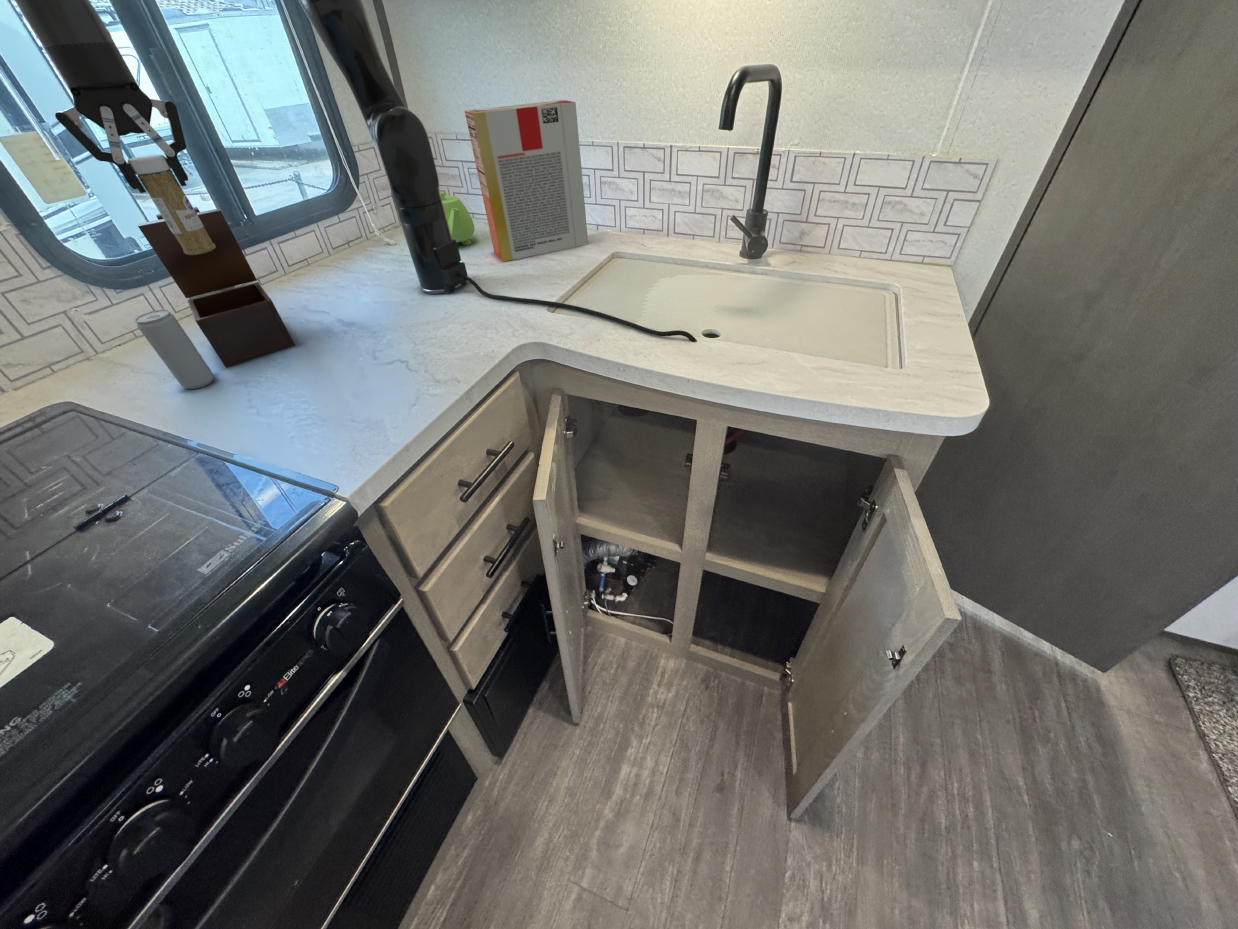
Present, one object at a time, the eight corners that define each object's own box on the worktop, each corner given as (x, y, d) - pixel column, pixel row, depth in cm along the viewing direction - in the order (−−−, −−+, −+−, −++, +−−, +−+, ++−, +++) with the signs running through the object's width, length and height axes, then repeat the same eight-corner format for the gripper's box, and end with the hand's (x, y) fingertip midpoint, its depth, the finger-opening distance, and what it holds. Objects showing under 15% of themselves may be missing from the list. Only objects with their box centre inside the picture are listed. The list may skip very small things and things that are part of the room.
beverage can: (193, 376, 86) (146, 310, 78) (221, 374, 86) (177, 307, 78) (177, 391, 82) (125, 323, 74) (206, 389, 82) (158, 321, 74)
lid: (221, 210, 83) (211, 195, 86) (137, 226, 78) (129, 209, 80) (257, 280, 94) (247, 265, 96) (186, 298, 89) (177, 282, 91)
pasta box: (576, 236, 134) (562, 99, 115) (588, 244, 129) (575, 101, 109) (494, 252, 127) (464, 110, 108) (502, 261, 122) (472, 113, 102)
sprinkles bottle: (217, 251, 81) (162, 155, 72) (184, 258, 79) (124, 160, 70) (216, 244, 84) (164, 152, 75) (185, 251, 82) (127, 156, 73)
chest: (295, 345, 93) (271, 299, 87) (225, 367, 88) (195, 320, 82) (280, 324, 100) (257, 281, 95) (215, 344, 95) (187, 299, 89)
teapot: (489, 246, 132) (477, 194, 123) (439, 258, 127) (424, 204, 118) (463, 230, 145) (451, 181, 137) (418, 240, 140) (403, 190, 131)
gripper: (-1, 44, 59) (106, 202, 70) (144, 36, 65) (220, 182, 76) (7, 46, 63) (105, 194, 74) (142, 38, 70) (214, 176, 81)
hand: (163, 187), depth 75 cm, fingers closed on sprinkles bottle, 4 cm apart
